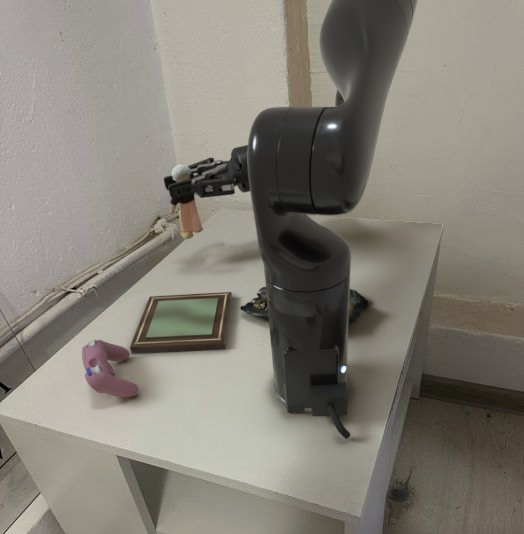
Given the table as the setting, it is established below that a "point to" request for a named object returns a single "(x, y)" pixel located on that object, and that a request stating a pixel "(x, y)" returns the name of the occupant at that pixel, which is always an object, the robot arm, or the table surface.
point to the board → (183, 323)
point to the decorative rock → (261, 309)
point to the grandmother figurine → (185, 205)
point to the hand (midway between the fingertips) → (167, 188)
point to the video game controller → (106, 369)
